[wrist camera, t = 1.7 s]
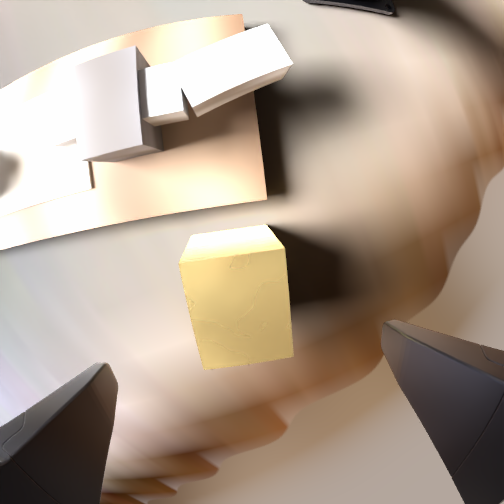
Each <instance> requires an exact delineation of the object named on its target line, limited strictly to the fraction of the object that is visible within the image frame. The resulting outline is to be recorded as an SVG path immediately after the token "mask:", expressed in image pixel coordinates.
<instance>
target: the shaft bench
mask: <svg viewBox="0 0 504 504" xmlns="http://www.w3.org/2000/svg"><path fill="white" fill-rule="evenodd" d="M292 64H293V63H292V62H291V60H290V58H289V57H288V55H287V53H286V52H285V50H284V48H283V47H282V45H281V44H280V42H279V40H278V39H277V37H276V36H275V34H274V33H273V31H272V30H271V28H270V27H269V25H268V24H265V25H262V26H259V27H256V28H253V29H250V30H247V31H245V29H244V22H243V16H242V14H237V15H225V16H215V17H207V18H200V19H193V20H187V21H181V22H175V23H170V24H165V25H161V26H156V27H152V28H148V29H144V30H140V31H136V32H132V33H129V34H125V35H122V36H119V37H115V38H112V39H109V40H106V41H103V42H100V43H97V44H94V45H92V46H89V47H86V48H84V49H81V50H79V51H76V52H74V53H71V54H69V55H67V56H64V57H62V58H60V59H57V60H55V61H53V62H51V63H49V64H47V65H45V66H43V67H41V68H39V69H37V70H35V71H33V72H31V73H29V74H27V75H25V76H23V77H22V78H20V79H18V80H16V81H15V82H13V83H11V84H9V85H8V86H6V87H4V88H3V89H1V90H0V250H2V249H6V248H10V247H14V246H18V245H22V244H26V243H30V242H34V241H38V240H42V239H46V238H51V237H55V236H59V235H64V234H68V233H73V232H78V231H82V230H87V229H92V228H97V227H101V226H106V225H111V224H117V223H122V222H127V221H132V220H138V219H143V218H149V217H154V216H160V215H166V214H172V213H178V212H184V211H190V210H197V209H203V208H210V207H216V206H223V205H230V204H238V203H245V202H252V201H260V200H267V194H266V185H265V177H264V168H263V160H262V152H261V144H260V136H259V128H258V121H257V113H256V106H255V98H254V90H256V89H258V88H261V87H263V86H266V85H268V84H271V83H273V82H276V81H278V80H281V79H283V77H284V76H285V74H286V73H287V71H288V70H289V68H290V67H291V66H292Z"/></svg>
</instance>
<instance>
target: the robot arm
mask: <svg viewBox="0 0 504 504" xmlns="http://www.w3.org/2000/svg"><path fill="white" fill-rule="evenodd" d="M303 1H305V2H308V3H318V4H328V5H337V6H344V7H351V8H357V9H363V10H368V11H374V12H378V13H383V14H387V15H390V14H392V13H393V12H394V11H395V8H394V5H393V2H392V0H303ZM386 7H387V8H388V9H387V8H386ZM381 348H382V351H383V353H384V355H385V357H386V359H387V361H388V363H389V365H390V368H391V370H392V372H393V374H394V376H395V378H396V380H397V382H398V384H399V386H400V388H401V389H402V391H403V393H404V394H405V396H406V398H407V399H408V401H409V403H410V404H411V406H412V408H413V409H414V411H415V413H416V414H417V416H418V417H419V419H420V421H421V423H422V425H423V426H424V428H425V430H426V432H427V433H428V435H429V437H430V439H431V440H432V442H433V444H434V446H435V448H436V449H437V451H438V453H439V455H440V457H441V458H442V460H443V462H444V464H445V466H446V468H447V470H448V471H449V473H450V475H451V476H452V479H453V481H454V483H455V485H456V487H457V489H458V491H459V493H460V495H461V497H462V499H463V501H464V503H465V504H501V503H502V502H503V501H504V351H502V350H498V349H494V348H491V347H487V346H484V345H481V346H480V345H479V344H476V343H473V342H469V341H466V340H462V339H459V338H455V337H452V336H448V335H445V334H442V333H439V332H435V331H432V330H429V329H425V328H422V327H418V326H415V325H412V324H408V323H405V322H402V321H399V320H390V321H387V322H385V323H384V324H383V328H382V337H381ZM117 393H118V383H117V380H116V378H115V376H114V374H113V372H112V369H111V367H110V365H109V364H108V363H95V364H94V365H92V366H91V367H89V368H88V369H87V370H85V371H84V372H82V373H81V374H79V375H78V376H76V377H75V378H73V379H72V380H70V381H69V382H67V383H66V384H64V385H63V386H61V387H60V388H59V389H57V390H56V391H54V392H53V393H51V394H50V395H48V396H47V397H45V398H44V399H42V400H41V401H39V402H38V403H36V404H35V405H33V406H32V407H30V408H29V409H28V410H26V412H23V413H21V414H20V415H19V416H17V417H15V418H14V419H12V420H11V421H9V422H8V423H6V424H4V425H3V426H1V427H0V504H100V497H101V490H102V483H103V477H104V471H105V466H106V460H107V455H108V450H109V445H110V440H111V435H112V431H113V426H114V418H115V409H116V401H117Z"/></svg>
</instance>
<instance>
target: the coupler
mask: <svg viewBox="0 0 504 504" xmlns="http://www.w3.org/2000/svg"><path fill="white" fill-rule="evenodd" d="M179 268H180V273H181V278H182V283H183V287H184V292H185V296H186V301H187V305H188V309H189V314H190V318H191V322H192V326H193V330H194V334H195V338H196V342H197V346H198V350H199V354H200V357H201V361H202V365H203V368H204V370H207V369H216V368H224V367H232V366H239V365H246V364H253V363H260V362H266V361H272V360H278V359H283V358H289V357H293V342H292V328H291V314H290V301H289V288H288V276H287V265H286V254H285V248H284V246H283V245H282V244H281V243H280V241H279V240H278V239H277V238H276V236H275V235H274V234H273V233H272V231H271V230H270V229H269V228H268V226H267V225H259V226H252V227H245V228H238V229H231V230H224V231H217V232H210V233H203V234H197V235H192V236H191V238H190V240H189V242H188V244H187V246H186V249H185V251H184V253H183V255H182V257H181V259H180V261H179Z"/></svg>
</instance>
